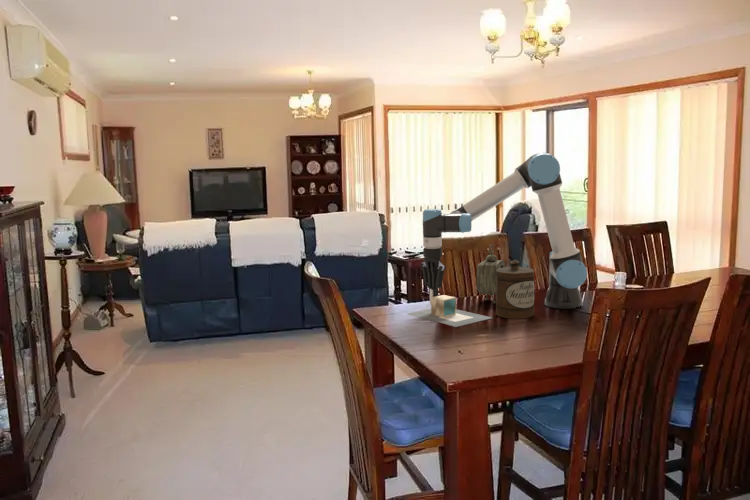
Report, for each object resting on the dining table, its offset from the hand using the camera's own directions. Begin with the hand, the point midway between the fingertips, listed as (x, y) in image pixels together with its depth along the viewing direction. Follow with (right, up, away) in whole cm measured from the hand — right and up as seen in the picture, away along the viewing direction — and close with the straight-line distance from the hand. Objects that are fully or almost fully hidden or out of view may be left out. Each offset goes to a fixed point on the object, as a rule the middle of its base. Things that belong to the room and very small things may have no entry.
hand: (433, 304), depth 268 cm
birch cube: (+1, 0, -2) cm, 3 cm away
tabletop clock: (+27, 0, +19) cm, 33 cm away
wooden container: (+32, -4, -7) cm, 33 cm away
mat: (+6, -4, -7) cm, 10 cm away
